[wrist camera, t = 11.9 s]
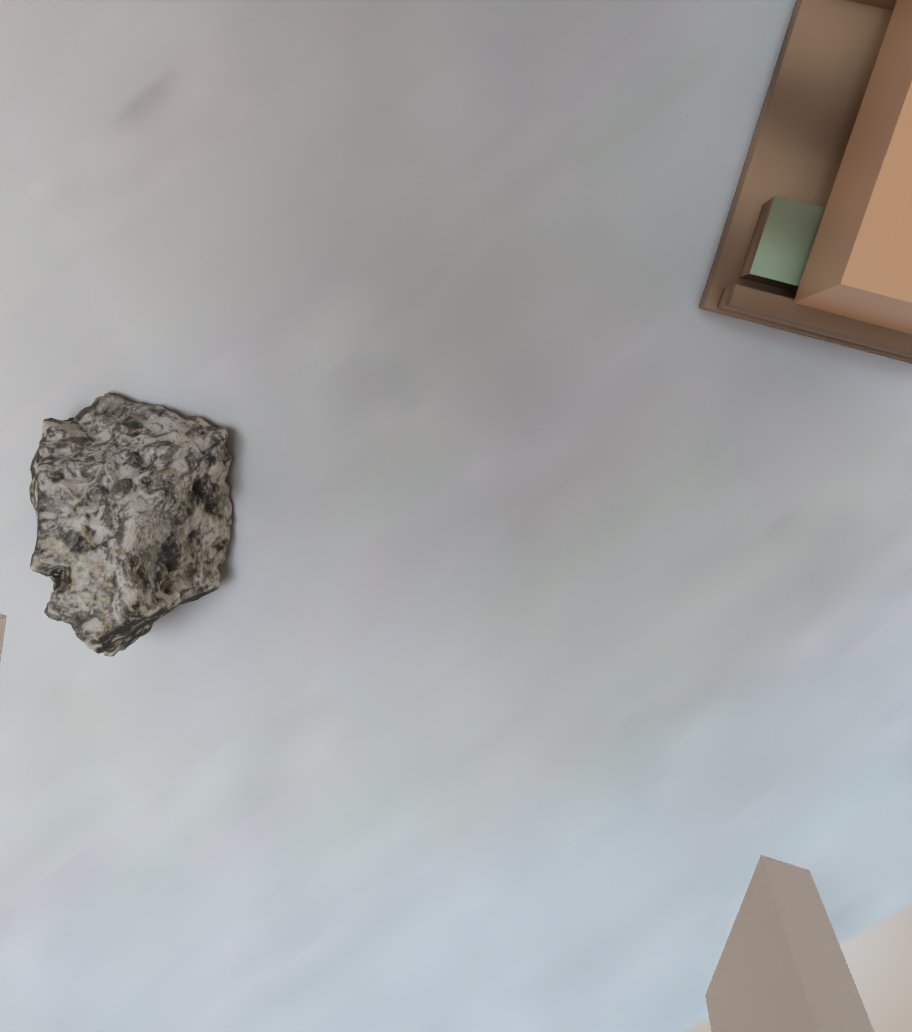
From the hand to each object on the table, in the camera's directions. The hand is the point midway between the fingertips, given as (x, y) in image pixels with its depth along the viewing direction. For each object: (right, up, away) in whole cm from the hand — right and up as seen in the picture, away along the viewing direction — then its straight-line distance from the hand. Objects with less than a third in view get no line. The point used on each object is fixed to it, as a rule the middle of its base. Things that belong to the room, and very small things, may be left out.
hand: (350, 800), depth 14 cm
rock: (-14, +5, +31) cm, 35 cm away
